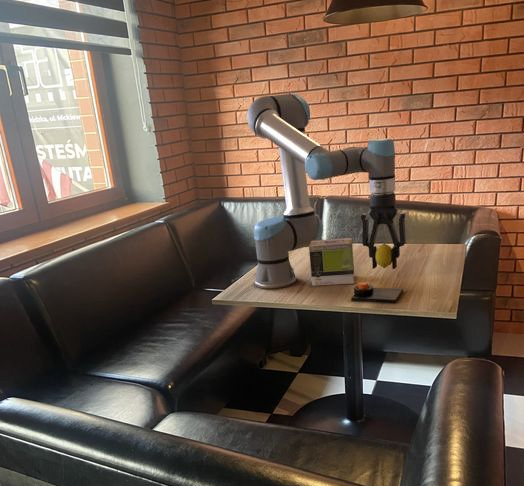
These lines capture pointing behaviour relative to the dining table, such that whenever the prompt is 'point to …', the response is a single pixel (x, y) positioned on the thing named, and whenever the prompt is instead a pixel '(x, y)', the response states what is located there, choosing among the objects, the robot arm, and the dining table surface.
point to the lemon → (383, 255)
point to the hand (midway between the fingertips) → (384, 267)
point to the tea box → (331, 261)
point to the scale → (376, 294)
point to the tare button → (363, 285)
